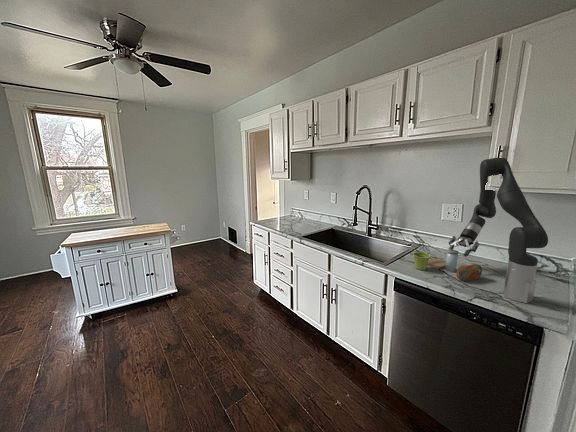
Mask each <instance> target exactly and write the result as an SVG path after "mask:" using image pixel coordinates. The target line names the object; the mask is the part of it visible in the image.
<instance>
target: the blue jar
mask: <svg viewBox="0 0 576 432" xmlns="http://www.w3.org/2000/svg"><path fill="white" fill-rule="evenodd" d="M459 254H460V253H459V250H457V249H456V250H455V249H453V250H452V249H449V248H448V249H447V250H446V258H445V259H446V260H445V261H446V267H445V268H444V269H445V271H446V272H449V273H457V266H458V265H457V264H458V258H459Z"/></svg>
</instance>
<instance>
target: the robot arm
mask: <svg viewBox="0 0 576 432" xmlns="http://www.w3.org/2000/svg"><path fill="white" fill-rule="evenodd" d="M505 158H506V157H505ZM505 158H497V157H493V158H486V159H484V160H481V162H480V166H479V186H480V188H479V189H480V190H479V191H480V192H479V198H478V203H479V204H477V205H475V206H474V208H473V214H472V217H471V218H470V220H469V221H468V223H467V225H465V227H464V228H463V230H462V231H461V233H460V235H459V236H458V237H457V236H455V235H453V236H452V237H451V239H449V240H448V245H449V247H448V249H452V250H454V248H455V247H459V246H460V247H464V248H467V249H465V251H464V253H463V257H468V256H469V255H470V253H472V252H473V253H476V251H477V250H478V248H479V246H480V243H479V241H478V240H477V241H476V239H477V237H478V236H479V235H480V233H481V231H482V228H483V227H484V225H485V224H486V219H493V218H494V217H495V216H496V214H497V208H496V204H495V203H496V202H495V199H496V198H497V201H498V203H499V205H500V207H501V208H502V210H503V211H504V212H505V213H508V214H509V215H510V217H513V218H514V219H515V220H517V221H518V222H519V224H520V225H521V226H517V227H514V228H513V229H512V230H511V231H510V233H509V238H508V250H507V251H508V252H507V253H508V260H507V268H506V274H505V280H504V281H505V282H504V286H503V287H504V288H503V294H502V295H503V296H504V297H505V298H507V299H510V300H512V301H515V302H520V303H524V304H528V303H531V302H533V300H534V295H535V291H536V284H537V280H535V278H536V274H537V269H538V262H539V259H538V258H537V257H536V256H534V255H532V254H528V253H527V249H543V248H545V247H547V245H548V244H549V238H548V237H549V236H548V234H547V231H546V230H545V228H544V227H543V226H542V224H541V222H539V220H538V218H537V217H536V216H535V214H534V213H533V210H532V208H531V207H530V205H529V203H528V202H527V199H526V197H525V195H524V193H523V191H522V189H521V188H520V186H519V184H518V182H517V180H516V178H515V176H514V174H513V170H512V168H511V164H510V162H509V160H508V159H507V158H506V159H505ZM507 160H508V161H507ZM499 174H502V176H503V178H502V182H501V184H500V187H499V188H498V189H497V191H496V190H495V191H493V190H485V185H486V183H487V182H488V181H489V177H493V176H499ZM492 175H493V176H492ZM502 176H501V177H502ZM485 218H486V219H485ZM472 245H473V246H472ZM471 246H472V247H471Z"/></svg>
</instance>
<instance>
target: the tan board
mask: <svg viewBox="0 0 576 432" xmlns="http://www.w3.org/2000/svg"><path fill="white" fill-rule="evenodd" d="M427 266H429V267H432V268H435V269H438V270H442V269H445V268H446V260H442V259H439V258H432V259H429V261H428V265H427Z"/></svg>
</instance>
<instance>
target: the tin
mask: <svg viewBox="0 0 576 432" xmlns="http://www.w3.org/2000/svg"><path fill="white" fill-rule="evenodd" d="M482 271H483V269H482V265H480V264H479V263H474V262H472V263H467V264H461V265H460V266H458V268H456V278H457V279H458V280H460V281H463V282H468V281H473V280H478V279H479V278H480V277H481V275H482Z"/></svg>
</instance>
